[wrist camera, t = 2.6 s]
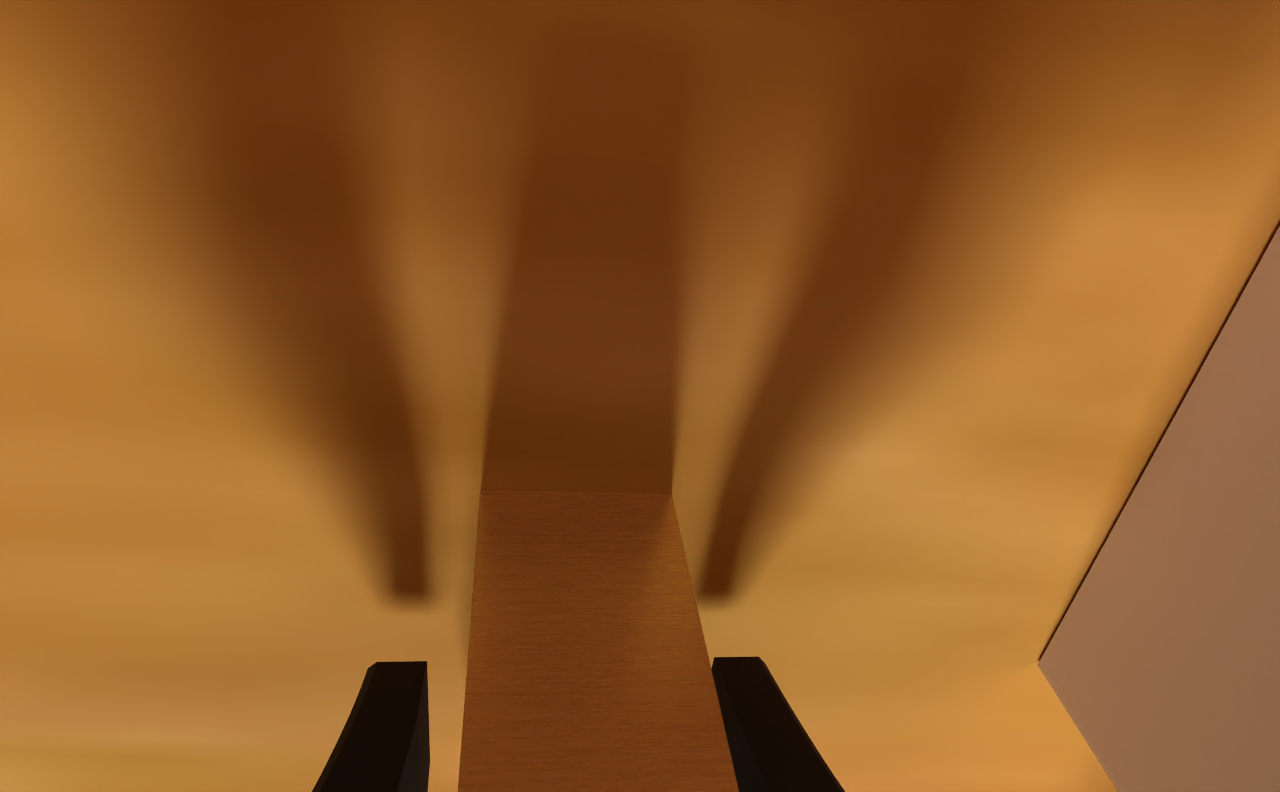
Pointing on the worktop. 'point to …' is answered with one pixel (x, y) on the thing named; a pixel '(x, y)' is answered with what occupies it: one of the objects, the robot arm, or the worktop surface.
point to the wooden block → (587, 651)
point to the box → (1192, 585)
